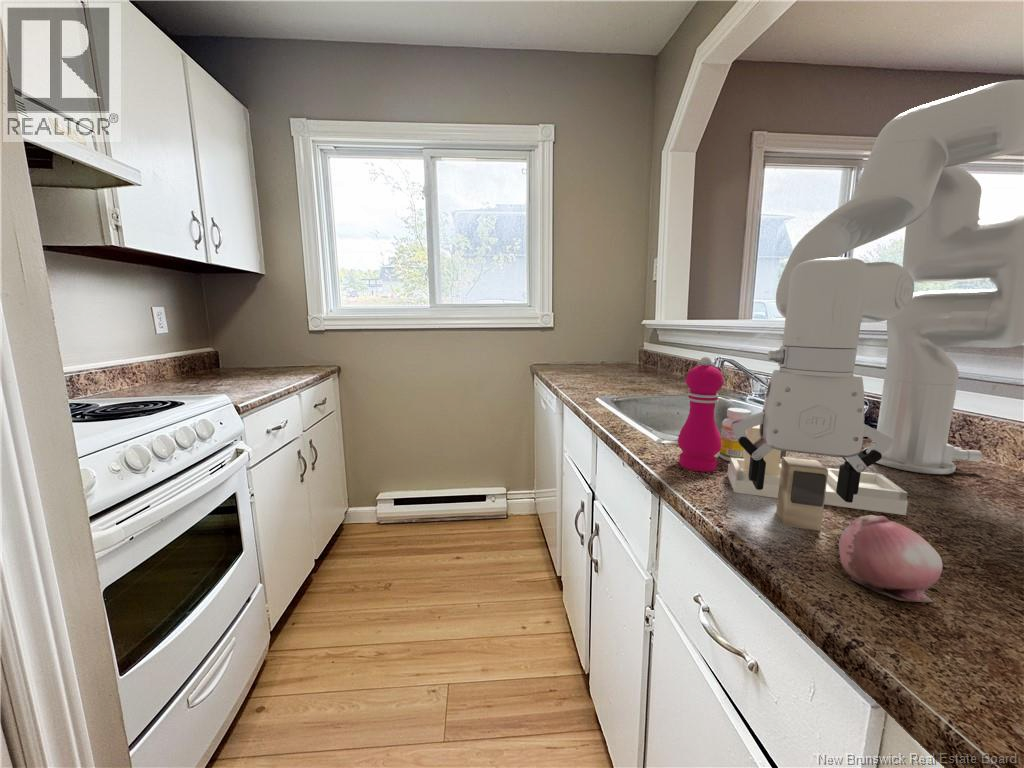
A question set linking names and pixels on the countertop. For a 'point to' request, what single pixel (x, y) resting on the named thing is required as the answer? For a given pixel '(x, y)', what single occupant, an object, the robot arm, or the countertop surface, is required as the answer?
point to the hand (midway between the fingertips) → (799, 492)
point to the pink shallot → (889, 558)
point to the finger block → (801, 493)
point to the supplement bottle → (732, 435)
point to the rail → (870, 496)
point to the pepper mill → (701, 419)
